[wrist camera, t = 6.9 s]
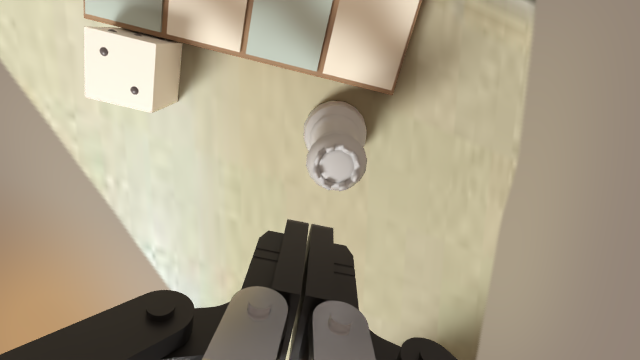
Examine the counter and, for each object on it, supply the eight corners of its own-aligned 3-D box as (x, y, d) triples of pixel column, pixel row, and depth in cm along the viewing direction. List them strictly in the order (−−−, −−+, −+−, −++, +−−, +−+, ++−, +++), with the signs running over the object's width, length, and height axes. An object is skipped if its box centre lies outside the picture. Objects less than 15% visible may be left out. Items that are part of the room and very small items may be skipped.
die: (178, 101, 25) (151, 113, 22) (121, 88, 25) (83, 97, 21) (183, 41, 24) (155, 42, 20) (122, 26, 24) (82, 24, 20)
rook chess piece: (330, 85, 25) (330, 107, 17) (378, 125, 26) (399, 162, 18) (291, 135, 26) (276, 174, 19) (339, 171, 27) (342, 222, 19)
